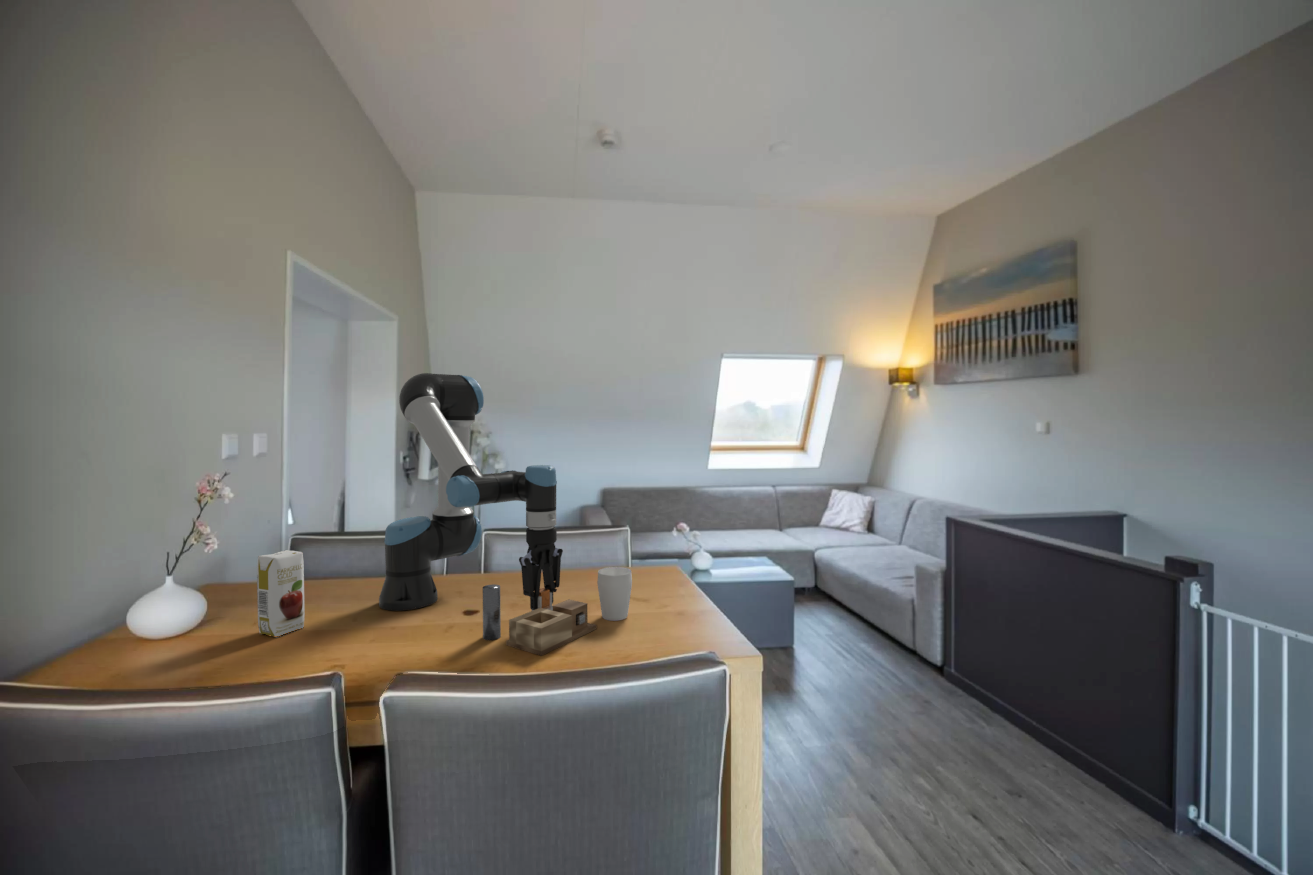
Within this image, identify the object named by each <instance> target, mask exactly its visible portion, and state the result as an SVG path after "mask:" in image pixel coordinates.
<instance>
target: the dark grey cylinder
mask: <svg viewBox="0 0 1313 875" xmlns="http://www.w3.org/2000/svg"><path fill="white" fill-rule="evenodd" d="M501 620H502V619H501V585H500V584H493V583H492V584H487V585H483V587H482V639H483V640H484V641H495V640H496V641H497V640H499V639H500V638H501V637H502V636H501V634H502V632H501V629H502V628H501Z"/></svg>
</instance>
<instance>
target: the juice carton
mask: <svg viewBox="0 0 1313 875" xmlns="http://www.w3.org/2000/svg"><path fill="white" fill-rule="evenodd" d="M256 563H257V565H256V581H257V582H256V584H257V586H256V588H257V589H256V590H257V591H256V592H257V594H256V595H257V626H258V631H259V634H260V633H261V634H260V635H262V634H266V635H271V636H280V635H283V634H285V633H288V632H291V631H294V630H296V629H300V628H302V629H304V628H303V627H305V617H306V616H305V615H306V614H305V575H304V574H305V570H304V569H305V568H304V567H305V566H304V564H305V562H304V553H303V552H302V551H297V550H286V549H284V550H281V551H278V552H275V553H272V554H263V555H258V557H257V562H256ZM300 630H301V629H300ZM294 632H295V631H294ZM291 633H292V632H291ZM288 634H289V633H288ZM266 635H265V636H266ZM271 636H270V637H271ZM283 636H284V635H283ZM280 637H281V636H280Z"/></svg>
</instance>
